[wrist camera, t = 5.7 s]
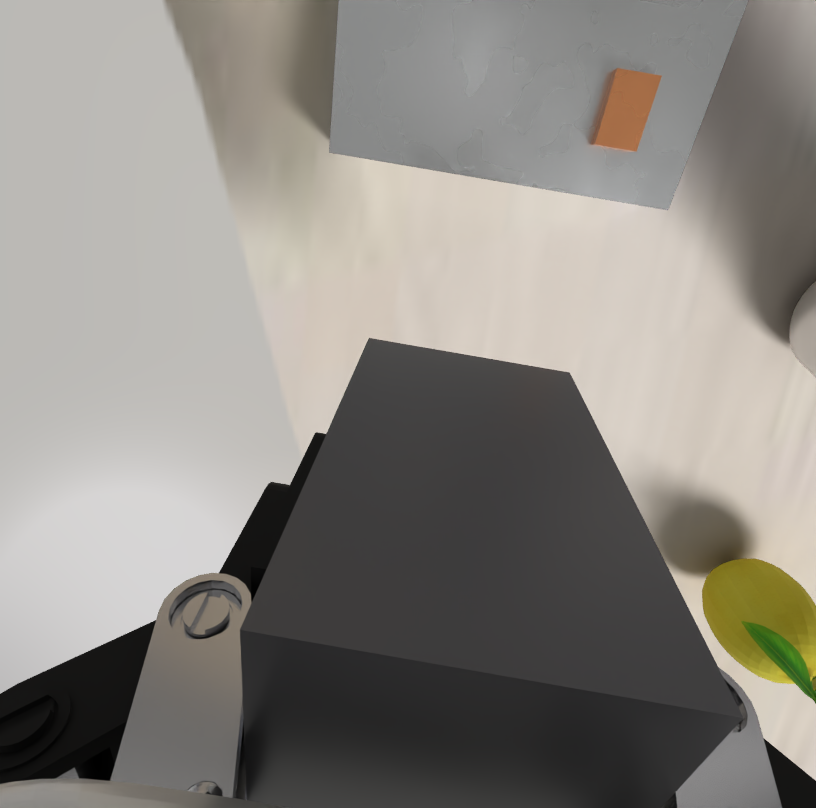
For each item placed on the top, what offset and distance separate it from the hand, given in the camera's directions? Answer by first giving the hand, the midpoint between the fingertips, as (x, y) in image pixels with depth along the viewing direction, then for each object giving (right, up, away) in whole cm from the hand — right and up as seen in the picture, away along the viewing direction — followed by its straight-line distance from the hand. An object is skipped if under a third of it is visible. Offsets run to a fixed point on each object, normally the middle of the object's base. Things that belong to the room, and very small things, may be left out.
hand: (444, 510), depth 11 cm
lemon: (+20, -8, +20) cm, 29 cm away
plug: (0, 0, +3) cm, 3 cm away
